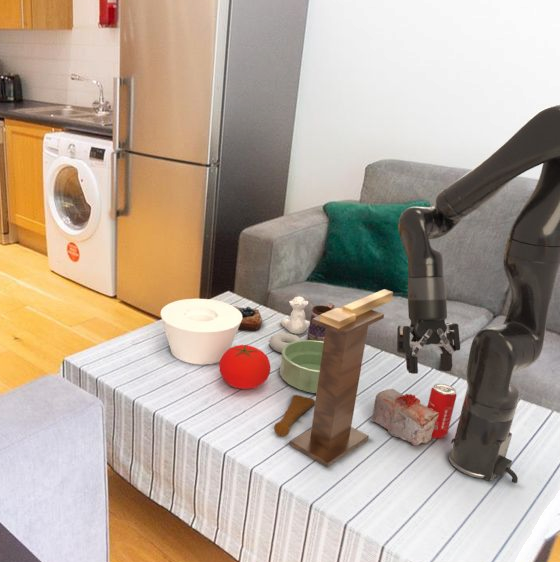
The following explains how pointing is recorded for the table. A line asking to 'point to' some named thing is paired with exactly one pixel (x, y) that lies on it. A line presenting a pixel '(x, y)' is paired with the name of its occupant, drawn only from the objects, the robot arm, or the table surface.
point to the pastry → (249, 319)
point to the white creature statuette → (297, 317)
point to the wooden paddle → (355, 309)
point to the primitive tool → (293, 414)
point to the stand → (337, 392)
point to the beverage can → (442, 407)
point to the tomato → (244, 367)
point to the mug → (315, 330)
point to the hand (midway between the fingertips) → (429, 372)
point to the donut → (282, 340)
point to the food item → (404, 416)
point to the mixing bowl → (302, 364)
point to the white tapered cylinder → (200, 329)
